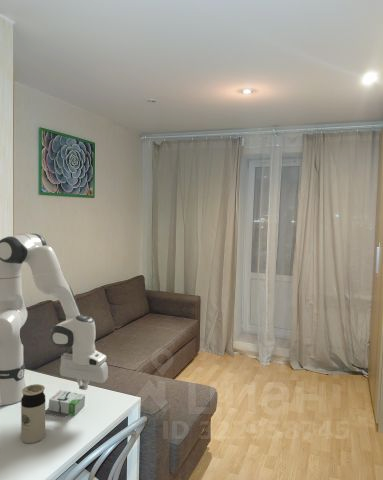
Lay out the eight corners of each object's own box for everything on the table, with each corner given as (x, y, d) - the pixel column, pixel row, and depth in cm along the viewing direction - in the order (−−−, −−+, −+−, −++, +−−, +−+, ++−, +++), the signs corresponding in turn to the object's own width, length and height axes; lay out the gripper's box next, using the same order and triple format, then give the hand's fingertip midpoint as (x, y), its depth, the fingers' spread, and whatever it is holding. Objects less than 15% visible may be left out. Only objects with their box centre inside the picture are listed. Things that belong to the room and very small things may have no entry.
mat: (42, 413, 151) (42, 412, 151) (61, 397, 164) (61, 397, 164) (64, 417, 149) (64, 416, 149) (82, 401, 161) (82, 400, 161)
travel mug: (38, 427, 141) (38, 381, 140) (49, 436, 136) (49, 388, 135) (17, 437, 135) (16, 389, 134) (28, 446, 130) (28, 396, 129)
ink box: (75, 404, 149) (48, 399, 151) (74, 416, 150) (47, 410, 152) (85, 393, 158) (59, 389, 160) (85, 404, 158) (59, 400, 160)
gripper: (56, 355, 151) (56, 388, 153) (102, 362, 146) (101, 396, 147) (65, 349, 158) (65, 381, 159) (110, 356, 152) (109, 389, 153)
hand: (83, 389), depth 153 cm, fingers closed
